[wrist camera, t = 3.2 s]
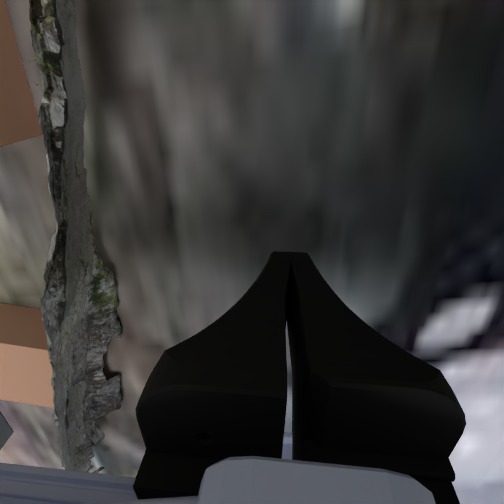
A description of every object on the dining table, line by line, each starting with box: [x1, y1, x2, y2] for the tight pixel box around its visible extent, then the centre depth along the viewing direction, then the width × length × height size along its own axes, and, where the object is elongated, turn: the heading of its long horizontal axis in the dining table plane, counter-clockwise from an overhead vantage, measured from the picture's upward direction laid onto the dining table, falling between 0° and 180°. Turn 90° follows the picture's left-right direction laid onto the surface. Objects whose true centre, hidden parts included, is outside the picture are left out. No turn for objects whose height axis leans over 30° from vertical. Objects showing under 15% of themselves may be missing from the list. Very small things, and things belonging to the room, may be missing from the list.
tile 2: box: [0, 303, 54, 408], centre depth 17 cm, size 4×4×2 cm
